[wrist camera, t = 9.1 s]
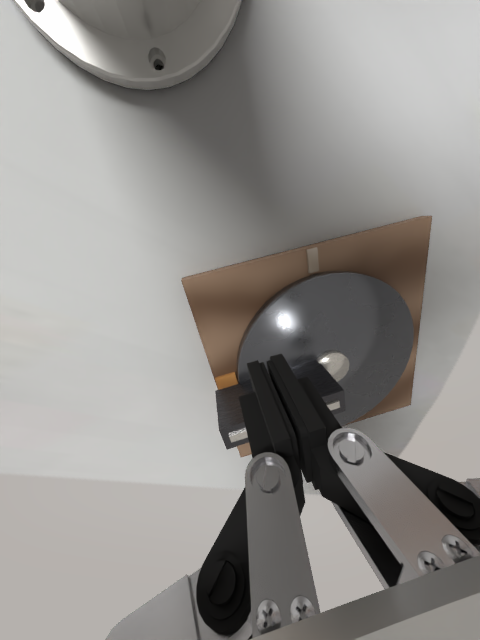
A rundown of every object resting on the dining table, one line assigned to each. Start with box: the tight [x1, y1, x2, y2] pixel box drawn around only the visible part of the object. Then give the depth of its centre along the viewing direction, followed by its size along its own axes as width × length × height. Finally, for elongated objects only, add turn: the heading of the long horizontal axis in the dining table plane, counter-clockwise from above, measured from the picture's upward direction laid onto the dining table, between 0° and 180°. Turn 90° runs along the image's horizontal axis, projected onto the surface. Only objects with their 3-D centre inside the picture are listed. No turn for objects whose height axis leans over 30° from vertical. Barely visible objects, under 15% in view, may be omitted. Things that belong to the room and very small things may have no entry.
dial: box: [216, 270, 414, 449], centre depth 19 cm, size 18×16×5 cm
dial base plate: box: [181, 216, 432, 457], centre depth 22 cm, size 20×20×1 cm
